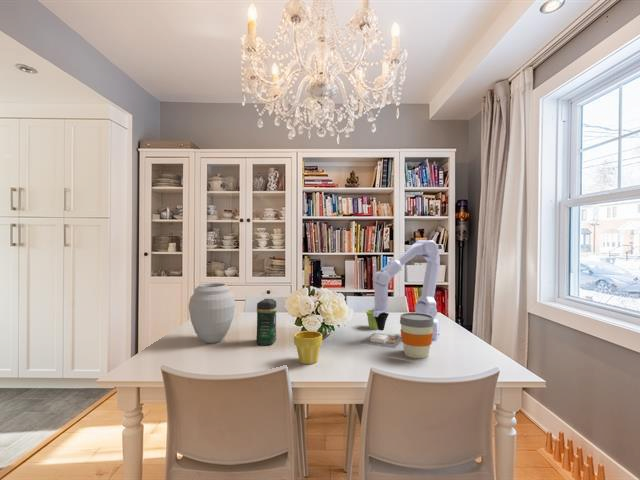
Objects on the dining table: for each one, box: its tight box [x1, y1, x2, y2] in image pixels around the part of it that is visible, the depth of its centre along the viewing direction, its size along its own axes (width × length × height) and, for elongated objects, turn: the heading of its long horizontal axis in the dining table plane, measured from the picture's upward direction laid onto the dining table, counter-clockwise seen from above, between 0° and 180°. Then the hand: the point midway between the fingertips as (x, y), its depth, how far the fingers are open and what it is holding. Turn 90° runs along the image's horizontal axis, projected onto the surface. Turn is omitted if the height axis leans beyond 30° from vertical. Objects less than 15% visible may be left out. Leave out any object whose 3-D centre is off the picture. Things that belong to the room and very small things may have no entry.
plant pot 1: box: [293, 330, 323, 365], centre depth 126 cm, size 10×10×10 cm
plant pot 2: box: [365, 309, 379, 331], centre depth 170 cm, size 9×9×9 cm
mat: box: [360, 332, 403, 349], centre depth 150 cm, size 15×17×1 cm
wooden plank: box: [386, 333, 400, 344], centre depth 150 cm, size 11×3×1 cm, turn 151°
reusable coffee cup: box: [399, 312, 434, 359], centre depth 132 cm, size 12×13×15 cm
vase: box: [188, 282, 236, 344], centre depth 150 cm, size 20×20×24 cm
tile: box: [371, 333, 389, 344], centre depth 149 cm, size 6×2×6 cm
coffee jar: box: [256, 298, 277, 346], centre depth 148 cm, size 10×8×19 cm
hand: (380, 329), depth 150 cm, fingers closed
